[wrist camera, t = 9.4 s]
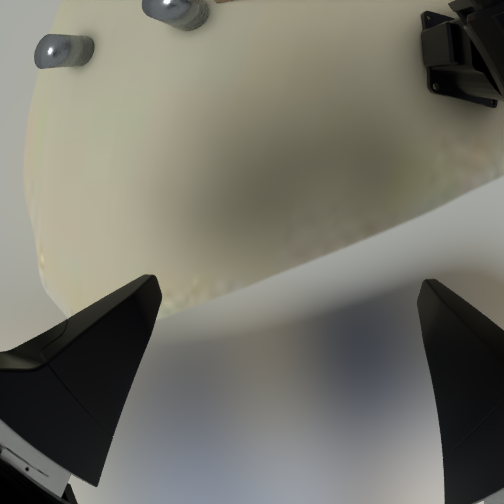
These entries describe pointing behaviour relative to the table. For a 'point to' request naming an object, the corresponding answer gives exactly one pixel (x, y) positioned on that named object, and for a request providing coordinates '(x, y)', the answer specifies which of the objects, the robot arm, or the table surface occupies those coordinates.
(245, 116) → the table surface
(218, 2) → the wooden pad
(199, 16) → the posts
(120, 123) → the table surface
